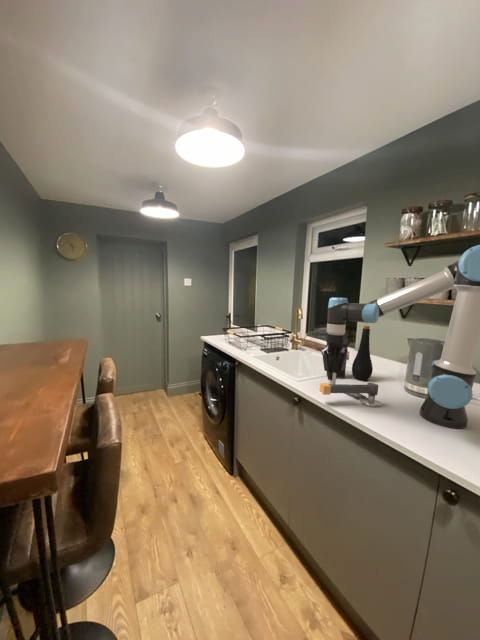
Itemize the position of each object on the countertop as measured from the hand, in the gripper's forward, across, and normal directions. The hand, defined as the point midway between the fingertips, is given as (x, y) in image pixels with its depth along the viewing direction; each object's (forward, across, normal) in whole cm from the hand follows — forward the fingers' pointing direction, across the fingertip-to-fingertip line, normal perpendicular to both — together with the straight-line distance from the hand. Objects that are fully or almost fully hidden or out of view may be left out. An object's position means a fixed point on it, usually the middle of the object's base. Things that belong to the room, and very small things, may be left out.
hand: (331, 386), depth 120 cm
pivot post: (+7, -16, +8) cm, 19 cm away
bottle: (+7, -39, -20) cm, 44 cm away
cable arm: (+2, -6, +5) cm, 8 cm away
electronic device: (+6, -27, -26) cm, 38 cm away
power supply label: (+6, -16, -2) cm, 17 cm away
